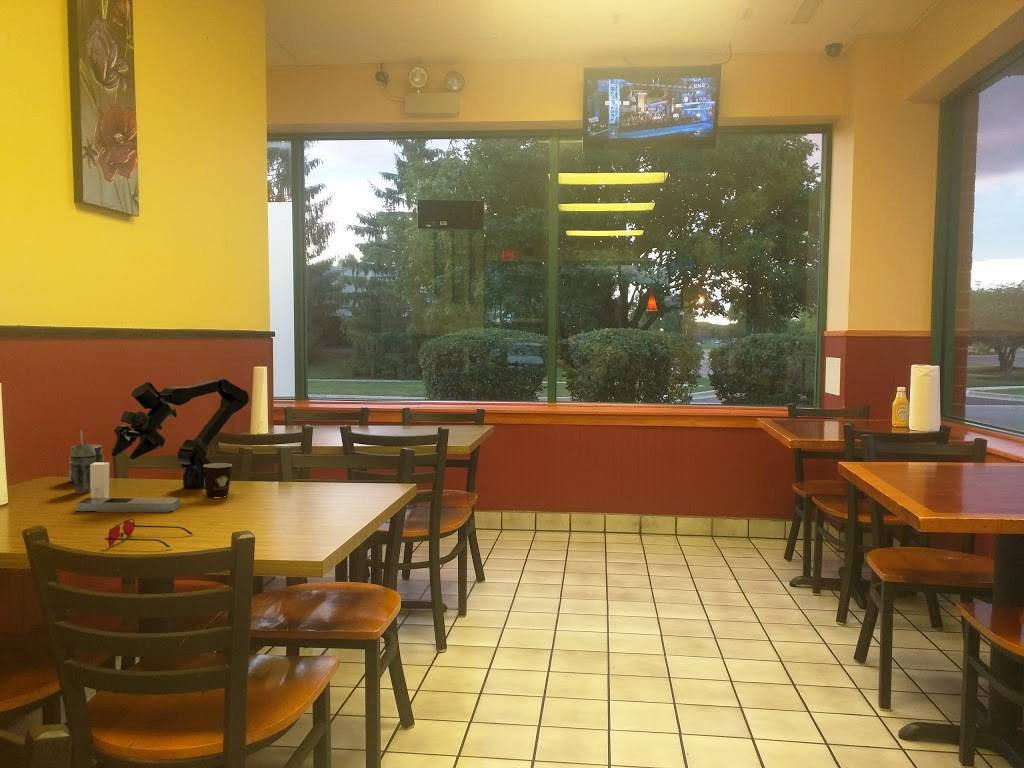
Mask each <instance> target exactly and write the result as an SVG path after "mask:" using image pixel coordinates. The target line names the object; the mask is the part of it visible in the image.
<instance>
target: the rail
mask: <svg viewBox="0 0 1024 768" xmlns="http://www.w3.org/2000/svg"><path fill="white" fill-rule="evenodd" d="M179 506H180V507H181V497H109V498H91V497H86V498H84V499H82V500H80V501H78V502H77V503H76V506H75V507H76V511H81V512H80V513H83V512H82V511H96V512H95V513H171V512H170V511H173V512H175V511H176V510H177V509H178V508H180V507H179ZM176 508H177V509H176ZM175 509H176V510H175ZM174 510H175V511H174ZM97 511H98V512H97Z"/></svg>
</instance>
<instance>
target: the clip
mask: <svg viewBox="0 0 1024 768" xmlns="http://www.w3.org/2000/svg"><path fill="white" fill-rule="evenodd" d="M109 486H110V462H108V461H107V462H106V461H105V462H95V463H93V464H90V488H91V492H90V498H110V487H109Z"/></svg>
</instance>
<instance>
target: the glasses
mask: <svg viewBox="0 0 1024 768" xmlns="http://www.w3.org/2000/svg"><path fill="white" fill-rule="evenodd" d="M121 525H122V527H121ZM135 528H166V529H167V528H168V529H180V530H183V531H184V532H186V533H188V534H189V535H190V534H194V533H193V532H191V531H190V530H188V529H187V528H184V527H183V526H172V525H171V526H170V525H169V526H168V525H167V526H166V525H143V524H142V525H138V524H137V525H136V522H135V520H134V518H130V519H126V520H124V521H123V522H121V523H120V524H116V525H115V526H114V527H112V528H110V529H109V530H108V537H107V536H106V537H104V540H105V541H107V543H108V546H109V547H110V546H111V545H112V546H113V545H114V543H116V541H118V540H119V541H146V542H147V541H150V542H153V541H154V542H158V543H161V544H162V545H164V546H165V547H166V548H168V547H171V546H170V545H169V544H167V543H166V542H165V541H163V540H160V539H156V538H155V539H152V538H151V539H150V538H129V537H128V536H130V535H131V536H132V534H133V532H134V530H135ZM121 529H122V531H123V532H121ZM124 535H125V536H126V537H127V538H124ZM131 536H130V537H131ZM112 546H111V547H112Z"/></svg>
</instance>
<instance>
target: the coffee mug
mask: <svg viewBox="0 0 1024 768" xmlns="http://www.w3.org/2000/svg"><path fill="white" fill-rule="evenodd" d="M232 468H233V464H232V463H224V462H217V463H211V464H206V465H203V470H204V472H202V471H196V472H195V473H193V475H192V480H193V481H194V483H196V484H197V485H198V486H200V487H202V488H201V489H204V490H205V495H206V498H207V497H209V498H208V499H211V498H214V497H224V496H227V495H228V496H229V493H230V492H229V491H230V484H231V477H232ZM197 473H202V474H203V476H204V479H205V487H204V486H202V485H200V484H198V483H197V482H196V481H195V480H194V476H195V474H197Z"/></svg>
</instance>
